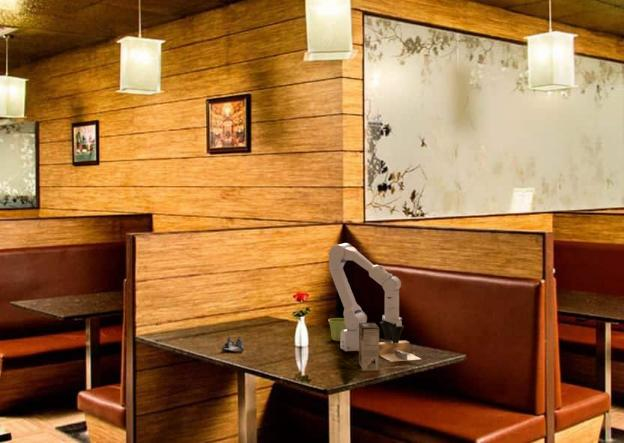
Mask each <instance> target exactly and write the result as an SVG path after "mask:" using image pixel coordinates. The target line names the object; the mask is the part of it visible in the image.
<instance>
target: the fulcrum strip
mask: <svg viewBox="0 0 624 443" xmlns="http://www.w3.org/2000/svg"><path fill="white" fill-rule="evenodd" d="M395 356H396V357H398V358H400V359H402V360H404V359H407V353H405V352H403V351H401V350H395Z"/></svg>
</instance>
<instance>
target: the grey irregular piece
mask: <svg viewBox="0 0 624 443" xmlns="http://www.w3.org/2000/svg"><path fill="white" fill-rule="evenodd" d="M235 338H237V339H236V342H235V341H234V340H233V339H232V338H231V336H228V337H227V338H226V342H225V343H223V345H222V346H221V349H222V351H230V353H231V354H232V353H233V354H242V353H243V351H244V350H243V349H244V347H245V341H244V339H243V338H242V337H241V336H239V337H237V336H236V337H235ZM238 348H239V349H238Z"/></svg>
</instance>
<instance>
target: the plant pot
mask: <svg viewBox="0 0 624 443" xmlns="http://www.w3.org/2000/svg"><path fill="white" fill-rule="evenodd" d="M344 320H345V318H344V317H343V318H342V317H335V318H329V319H327V322H328V324H329V328H330V334H331V340H333V341H335V342H340V335H341V331H342V330H345V329H347V327H346V325H345V323H344Z"/></svg>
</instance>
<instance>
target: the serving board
mask: <svg viewBox="0 0 624 443" xmlns="http://www.w3.org/2000/svg"><path fill="white" fill-rule="evenodd" d="M379 357H382V358H383V359H385V360H388V361H389V362H391V363H392V362H403V361H416V360H422V358H420V357H418V356H416V355H414V354H413V353H410V352H407V359H404V360H402V359H400V358H398V357H396V356H395V353H394V354H381V355H379Z"/></svg>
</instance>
